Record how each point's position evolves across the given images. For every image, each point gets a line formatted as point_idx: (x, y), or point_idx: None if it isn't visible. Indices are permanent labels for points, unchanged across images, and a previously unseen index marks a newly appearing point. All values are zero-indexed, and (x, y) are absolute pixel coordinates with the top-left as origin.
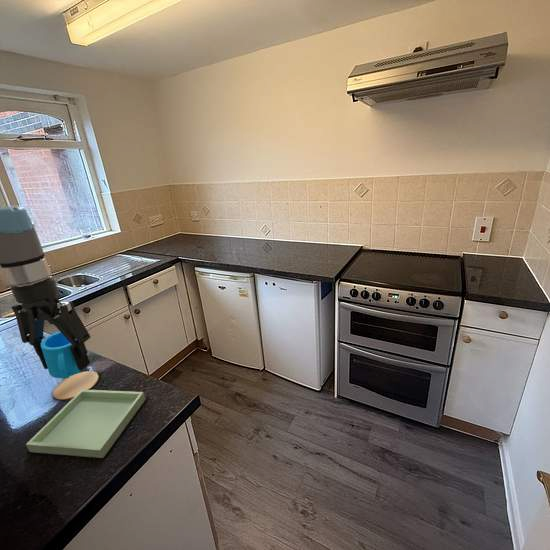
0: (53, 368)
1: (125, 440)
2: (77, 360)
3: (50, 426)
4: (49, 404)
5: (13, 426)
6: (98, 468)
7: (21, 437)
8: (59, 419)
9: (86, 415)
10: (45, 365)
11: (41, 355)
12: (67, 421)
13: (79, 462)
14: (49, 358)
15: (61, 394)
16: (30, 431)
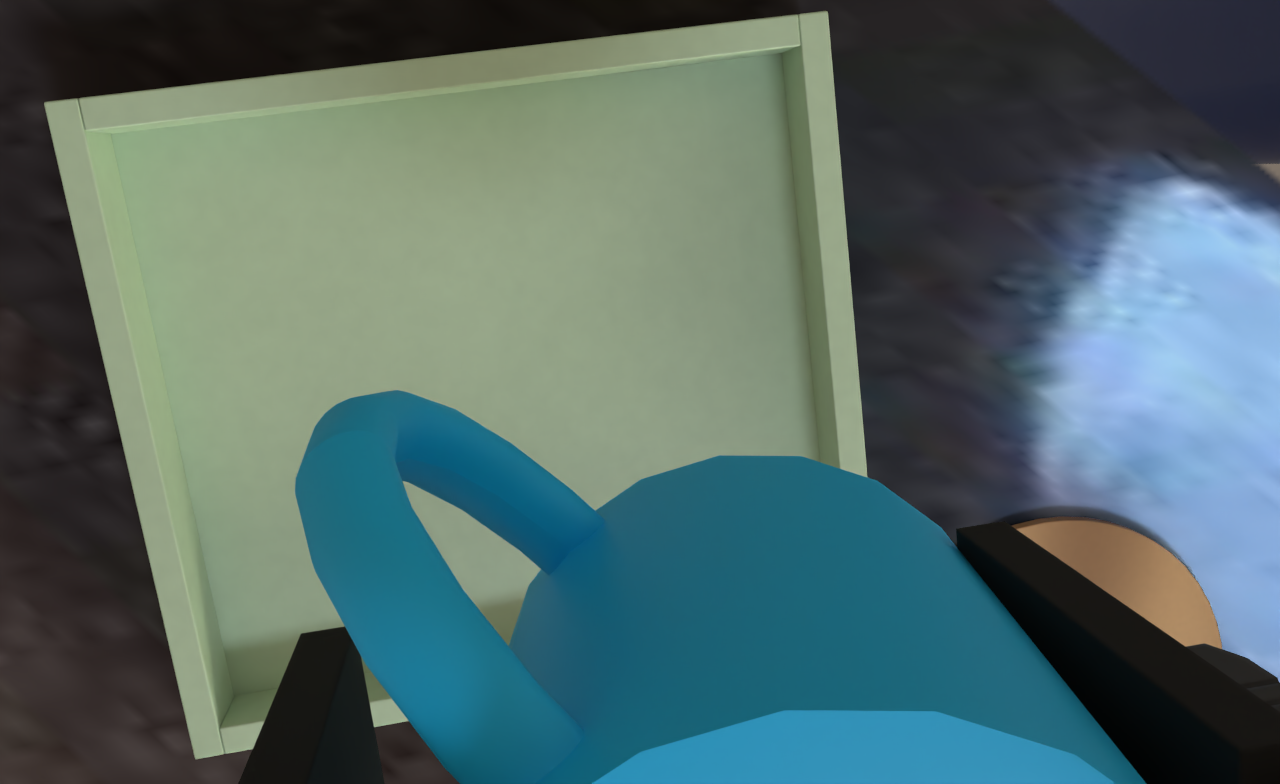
0: (730, 511)
1: (30, 296)
2: (269, 732)
3: (811, 235)
4: (1101, 455)
5: (1199, 197)
6: (37, 18)
7: (1017, 123)
8: (813, 323)
9: (618, 426)
10: (988, 552)
11: (1090, 641)
12: (739, 334)
13: (262, 31)
14: (779, 594)
15: (1084, 566)
16: (997, 188)
